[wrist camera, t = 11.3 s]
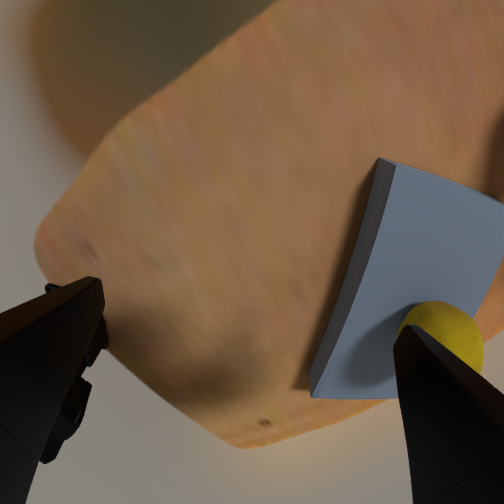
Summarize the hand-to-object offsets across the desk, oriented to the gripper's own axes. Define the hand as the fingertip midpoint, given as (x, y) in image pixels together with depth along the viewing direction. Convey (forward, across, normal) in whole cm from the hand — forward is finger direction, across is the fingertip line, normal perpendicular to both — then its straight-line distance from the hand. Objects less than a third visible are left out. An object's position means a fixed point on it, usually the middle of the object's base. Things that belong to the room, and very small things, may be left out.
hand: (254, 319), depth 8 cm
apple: (+10, -13, +6) cm, 17 cm away
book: (+12, -13, +6) cm, 19 cm away
